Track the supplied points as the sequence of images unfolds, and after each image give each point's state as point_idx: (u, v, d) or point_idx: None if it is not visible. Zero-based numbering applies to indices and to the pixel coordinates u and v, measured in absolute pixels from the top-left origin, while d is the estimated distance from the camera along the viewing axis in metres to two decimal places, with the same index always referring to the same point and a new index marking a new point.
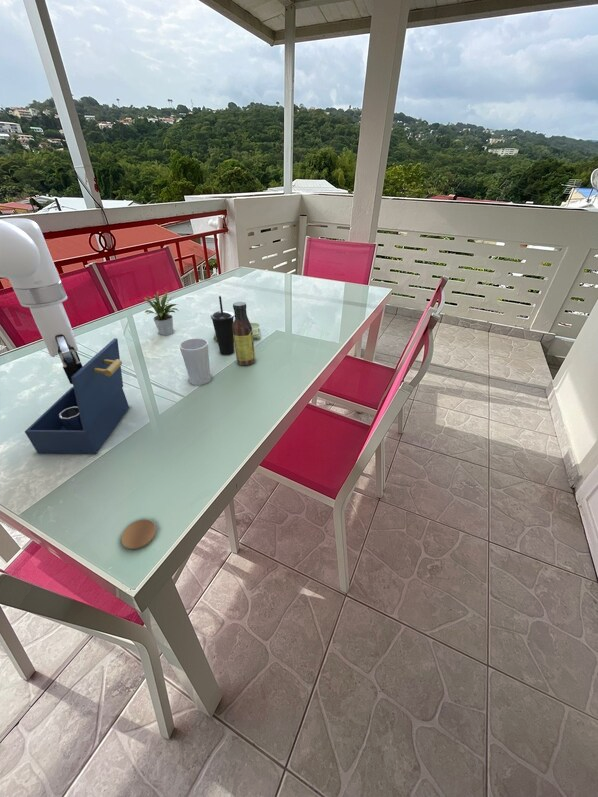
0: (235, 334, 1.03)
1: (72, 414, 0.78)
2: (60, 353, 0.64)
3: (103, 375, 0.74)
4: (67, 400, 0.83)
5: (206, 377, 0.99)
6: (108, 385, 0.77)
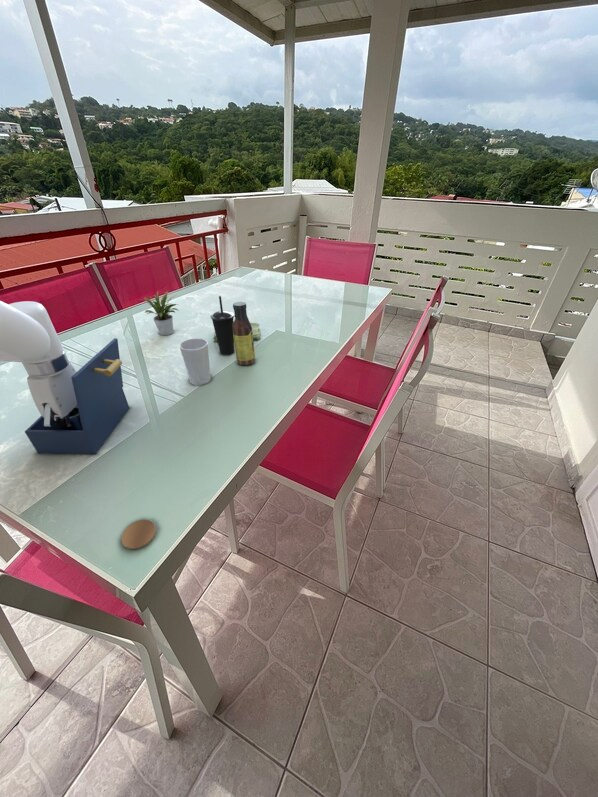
0: (235, 334, 1.03)
1: (72, 414, 0.78)
2: (54, 416, 0.72)
3: (103, 375, 0.74)
4: None
5: (206, 377, 0.99)
6: (108, 385, 0.77)
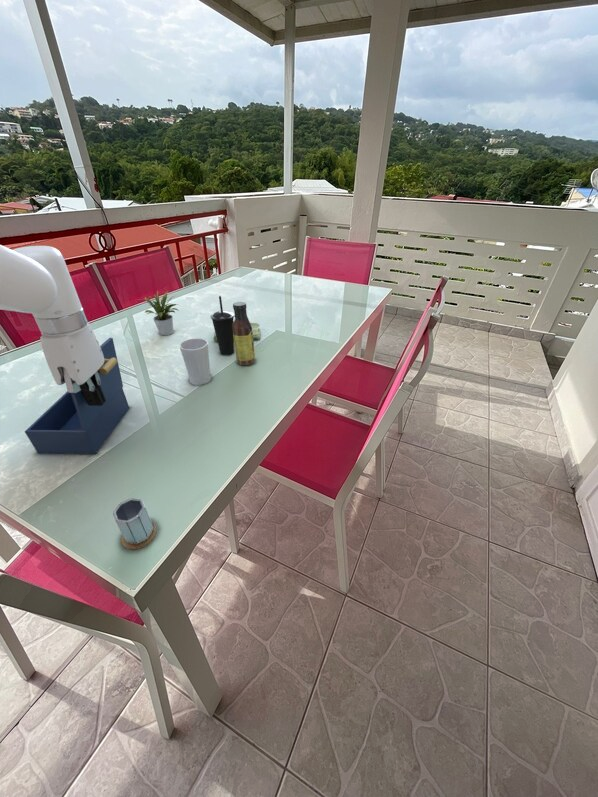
0: (235, 334, 1.03)
1: (129, 508, 0.57)
2: None
3: (100, 374, 0.74)
4: (67, 400, 0.83)
5: (206, 377, 0.99)
6: (106, 385, 0.77)
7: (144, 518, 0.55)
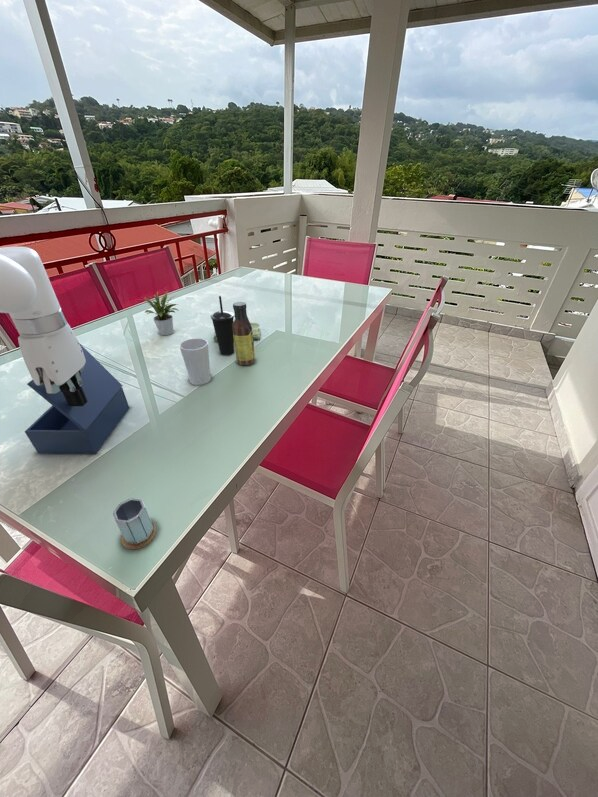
0: (235, 334, 1.03)
1: (129, 508, 0.57)
2: None
3: None
4: None
5: (206, 377, 0.99)
6: (95, 386, 0.77)
7: (144, 518, 0.55)
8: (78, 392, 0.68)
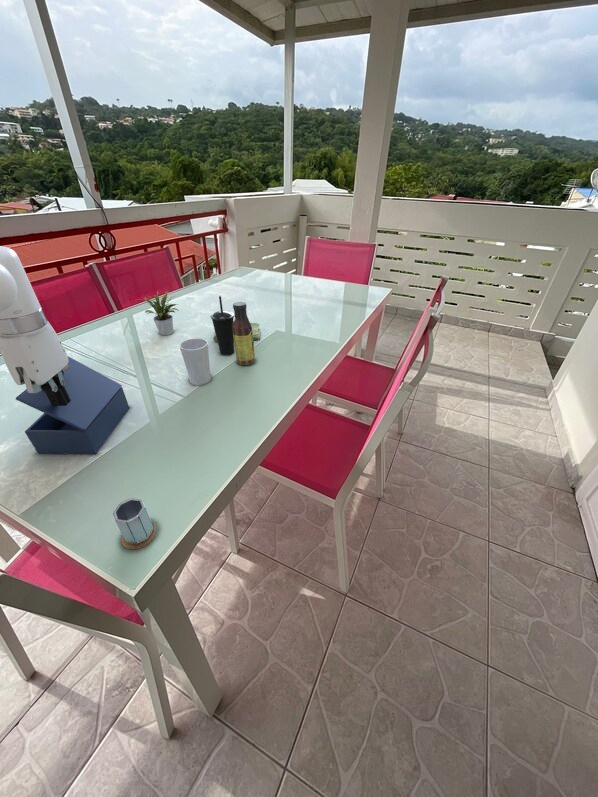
0: (235, 334, 1.03)
1: (129, 508, 0.57)
2: None
3: (71, 385, 0.76)
4: None
5: (206, 377, 0.99)
6: (90, 390, 0.78)
7: (144, 518, 0.55)
8: (60, 392, 0.68)
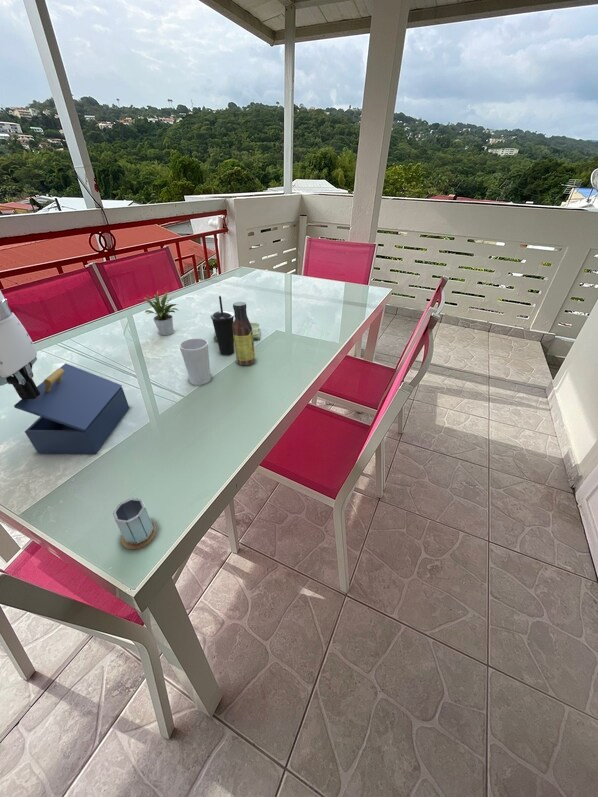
0: (235, 334, 1.03)
1: (129, 508, 0.57)
2: None
3: (69, 389, 0.76)
4: None
5: (206, 377, 0.99)
6: (89, 392, 0.78)
7: (144, 518, 0.55)
8: (28, 385, 0.67)
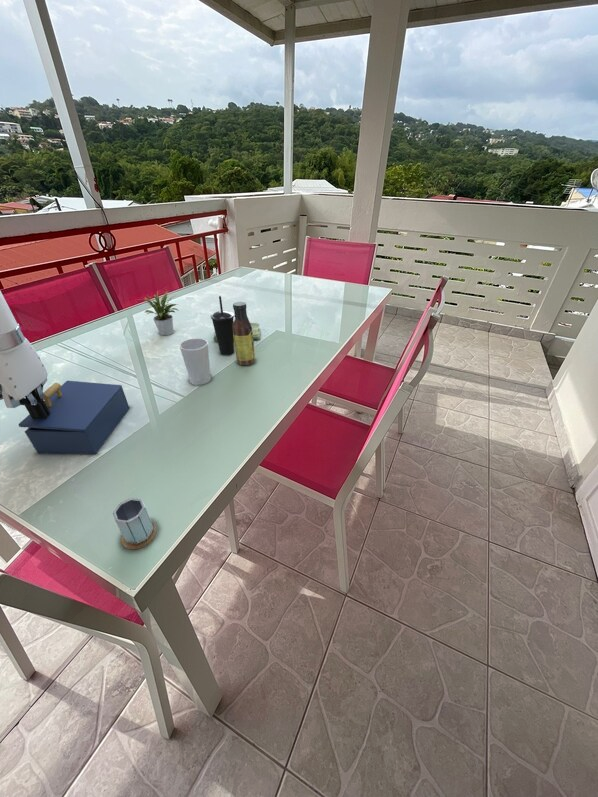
0: (235, 334, 1.03)
1: (129, 508, 0.57)
2: None
3: (70, 400, 0.78)
4: None
5: (206, 377, 0.99)
6: (89, 398, 0.79)
7: (144, 518, 0.55)
8: (40, 405, 0.70)
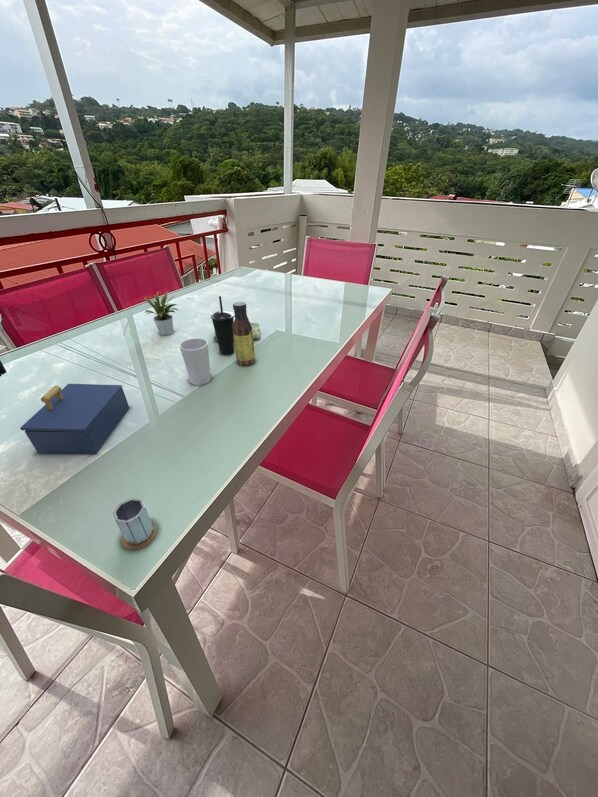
0: (235, 334, 1.03)
1: (129, 508, 0.57)
2: None
3: (71, 402, 0.78)
4: None
5: (206, 377, 0.99)
6: (89, 399, 0.80)
7: (144, 518, 0.55)
8: None
